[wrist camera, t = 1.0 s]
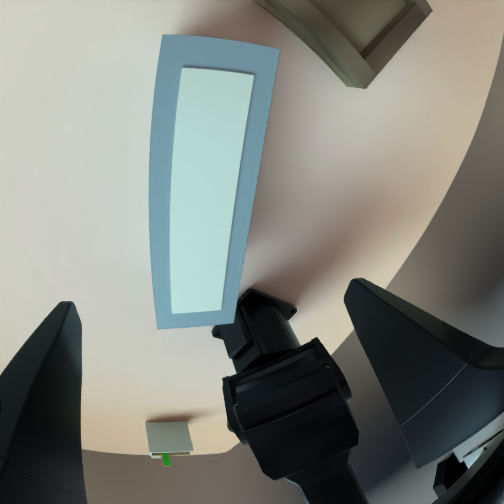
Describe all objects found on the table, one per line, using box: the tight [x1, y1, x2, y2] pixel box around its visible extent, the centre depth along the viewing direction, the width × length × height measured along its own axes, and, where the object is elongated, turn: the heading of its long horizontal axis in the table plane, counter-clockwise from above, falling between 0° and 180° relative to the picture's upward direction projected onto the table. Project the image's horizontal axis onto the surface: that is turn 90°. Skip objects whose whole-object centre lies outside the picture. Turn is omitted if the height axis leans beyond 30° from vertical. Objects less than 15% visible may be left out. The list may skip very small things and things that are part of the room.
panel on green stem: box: [145, 421, 194, 466], centre depth 34 cm, size 4×7×8 cm, turn 71°
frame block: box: [149, 34, 280, 329], centre depth 15 cm, size 5×16×6 cm, turn 170°
